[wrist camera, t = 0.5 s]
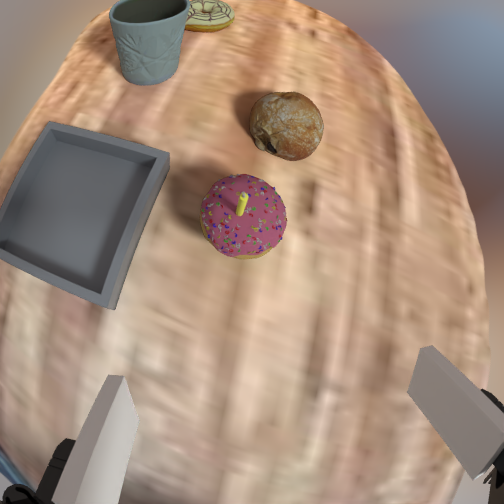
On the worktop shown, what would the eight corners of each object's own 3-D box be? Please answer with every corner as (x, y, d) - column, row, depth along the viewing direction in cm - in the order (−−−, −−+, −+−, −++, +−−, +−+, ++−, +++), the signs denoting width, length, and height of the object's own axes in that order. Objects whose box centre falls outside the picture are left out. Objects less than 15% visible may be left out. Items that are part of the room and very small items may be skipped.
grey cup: (193, 58, 38) (203, -3, 26) (161, 98, 35) (163, 29, 23) (139, 45, 36) (139, -13, 25) (103, 82, 33) (92, 19, 22)
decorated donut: (171, 12, 40) (172, -3, 37) (224, 9, 43) (227, -5, 40) (178, 37, 39) (179, 21, 35) (237, 34, 42) (242, 19, 38)
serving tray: (115, 310, 28) (107, 308, 24) (-1, 256, 25) (-16, 249, 22) (169, 168, 33) (169, 152, 29) (57, 136, 30) (49, 121, 27)
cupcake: (229, 283, 31) (259, 259, 20) (180, 221, 32) (183, 166, 20) (286, 236, 34) (337, 195, 23) (240, 181, 34) (269, 119, 23)
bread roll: (235, 141, 40) (232, 126, 32) (272, 87, 39) (277, 63, 31) (295, 177, 41) (305, 170, 33) (329, 121, 39) (346, 104, 32)
